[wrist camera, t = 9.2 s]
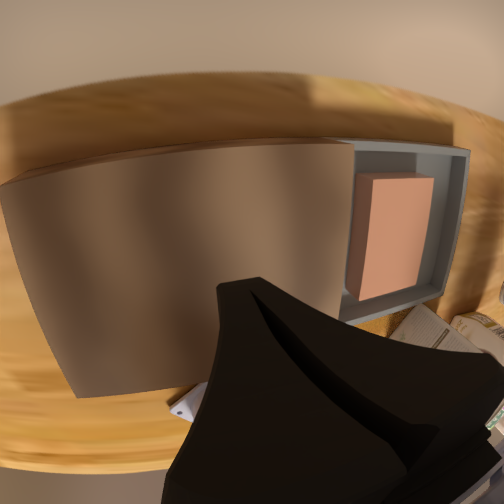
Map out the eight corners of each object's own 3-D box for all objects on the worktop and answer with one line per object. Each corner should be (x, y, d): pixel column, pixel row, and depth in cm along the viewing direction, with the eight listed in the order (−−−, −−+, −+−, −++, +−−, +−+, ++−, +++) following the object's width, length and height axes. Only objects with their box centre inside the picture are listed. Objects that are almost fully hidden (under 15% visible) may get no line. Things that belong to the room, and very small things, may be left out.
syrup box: (382, 342, 30) (471, 441, 17) (419, 297, 29) (520, 385, 16) (404, 355, 32) (482, 439, 20) (437, 316, 31) (523, 392, 19)
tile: (373, 179, 18) (355, 173, 20) (358, 301, 22) (345, 288, 24) (434, 177, 20) (416, 172, 22) (415, 284, 24) (401, 274, 26)
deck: (318, 137, 19) (354, 144, 15) (309, 319, 25) (332, 351, 21) (26, 171, 14) (-3, 186, 11) (82, 359, 20) (77, 398, 17)
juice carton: (480, 304, 35) (574, 381, 18) (455, 354, 38) (535, 433, 21) (453, 309, 32) (560, 403, 16) (425, 364, 35) (513, 458, 19)
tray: (453, 146, 22) (470, 150, 21) (430, 285, 28) (443, 295, 27) (318, 137, 19) (335, 140, 17) (309, 319, 25) (320, 334, 23)
